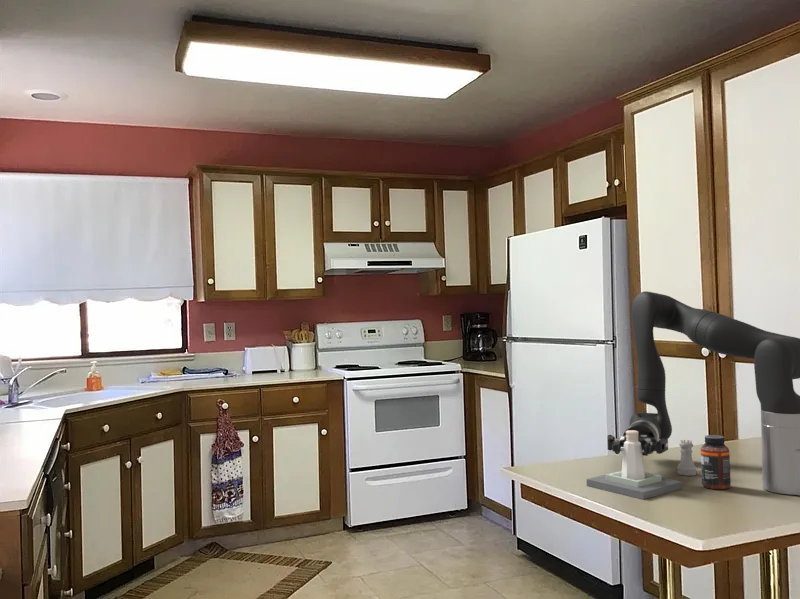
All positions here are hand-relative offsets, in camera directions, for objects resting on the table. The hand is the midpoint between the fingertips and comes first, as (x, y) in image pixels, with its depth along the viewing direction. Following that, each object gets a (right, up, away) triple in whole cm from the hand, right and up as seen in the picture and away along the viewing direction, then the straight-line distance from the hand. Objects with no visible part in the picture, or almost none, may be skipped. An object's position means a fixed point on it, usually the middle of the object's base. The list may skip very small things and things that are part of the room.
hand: (630, 450), depth 158 cm
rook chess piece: (+18, -9, +13) cm, 24 cm away
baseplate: (+1, -9, +2) cm, 9 cm away
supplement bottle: (+19, -9, +1) cm, 21 cm away
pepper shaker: (+1, -7, +2) cm, 8 cm away
